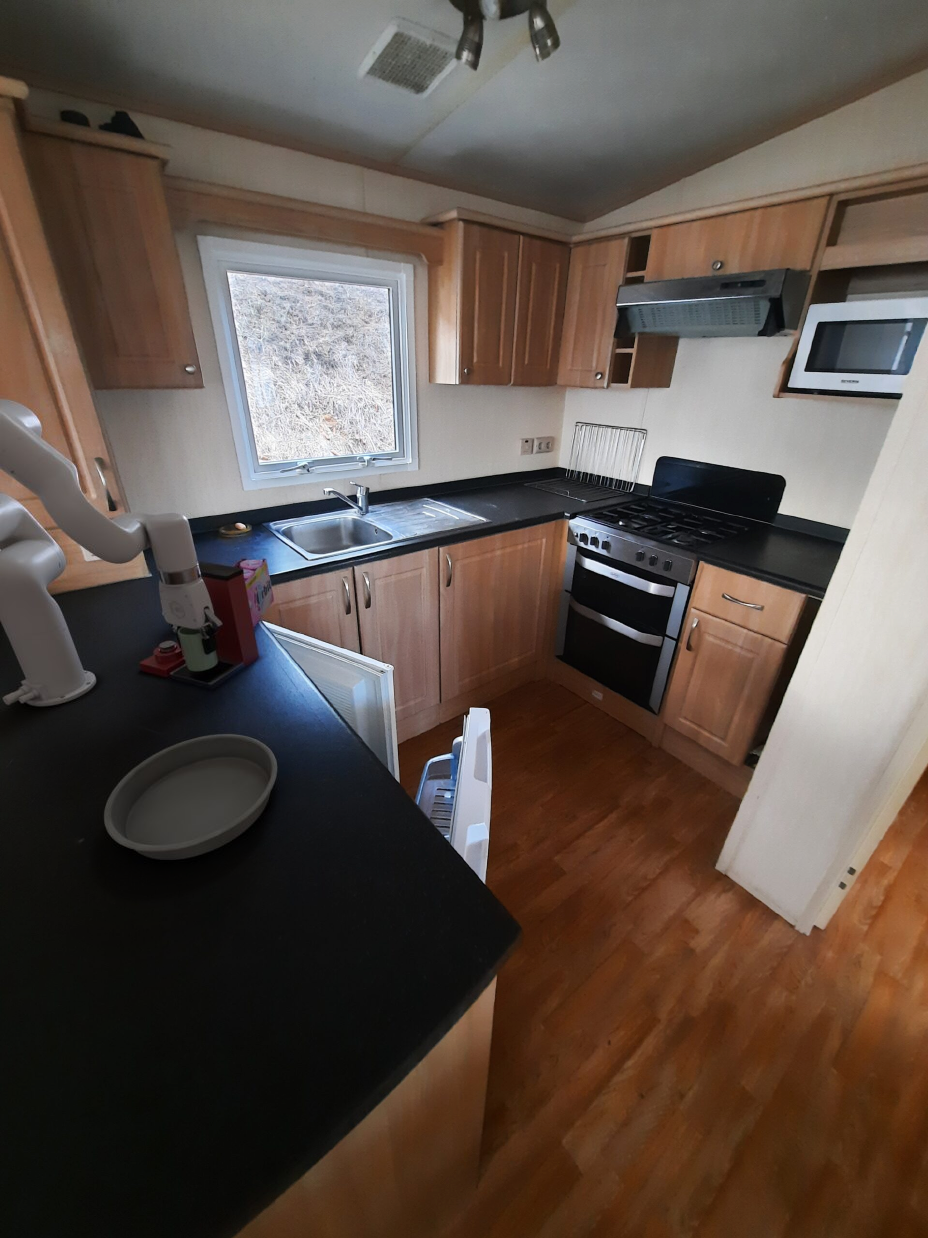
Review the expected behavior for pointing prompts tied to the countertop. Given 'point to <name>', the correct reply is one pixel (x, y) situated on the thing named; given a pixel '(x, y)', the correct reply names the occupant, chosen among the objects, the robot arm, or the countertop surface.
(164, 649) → the button
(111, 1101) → the countertop surface
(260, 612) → the gum box
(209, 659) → the cup
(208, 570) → the coffee maker
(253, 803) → the cake pan
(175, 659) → the button block
